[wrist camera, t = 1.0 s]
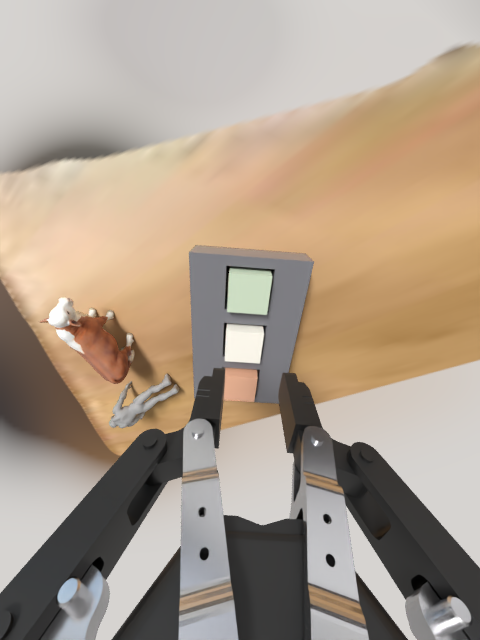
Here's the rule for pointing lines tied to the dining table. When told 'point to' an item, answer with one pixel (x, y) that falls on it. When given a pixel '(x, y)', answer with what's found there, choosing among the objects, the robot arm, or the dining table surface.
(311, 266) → the button panel
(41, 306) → the dining table surface
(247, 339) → the cream button
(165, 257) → the dining table surface
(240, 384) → the terracotta button
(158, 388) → the grey human figurine
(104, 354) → the bull figurine
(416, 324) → the dining table surface
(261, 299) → the sage button
